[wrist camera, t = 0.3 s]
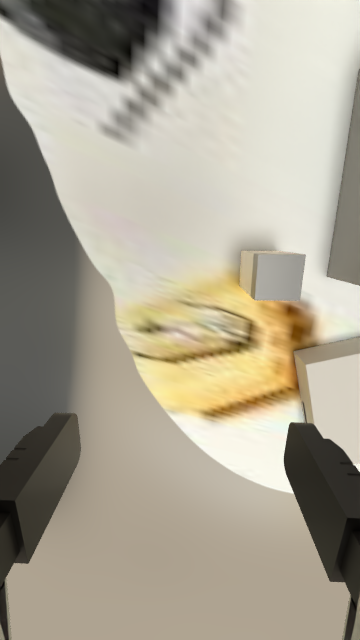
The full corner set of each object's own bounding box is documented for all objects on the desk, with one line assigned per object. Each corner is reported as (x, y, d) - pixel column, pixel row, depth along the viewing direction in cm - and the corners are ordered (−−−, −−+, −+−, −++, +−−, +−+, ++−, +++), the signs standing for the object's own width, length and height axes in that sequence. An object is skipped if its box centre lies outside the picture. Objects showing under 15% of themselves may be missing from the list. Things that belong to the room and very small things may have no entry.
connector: (241, 250, 35) (258, 254, 26) (276, 250, 35) (305, 254, 26) (239, 285, 36) (254, 300, 27) (273, 285, 36) (299, 300, 27)
